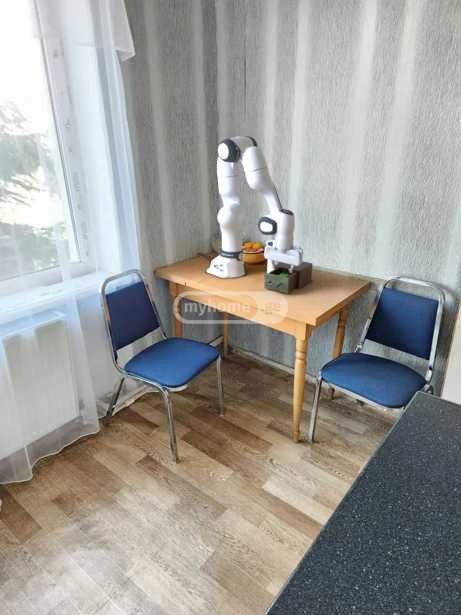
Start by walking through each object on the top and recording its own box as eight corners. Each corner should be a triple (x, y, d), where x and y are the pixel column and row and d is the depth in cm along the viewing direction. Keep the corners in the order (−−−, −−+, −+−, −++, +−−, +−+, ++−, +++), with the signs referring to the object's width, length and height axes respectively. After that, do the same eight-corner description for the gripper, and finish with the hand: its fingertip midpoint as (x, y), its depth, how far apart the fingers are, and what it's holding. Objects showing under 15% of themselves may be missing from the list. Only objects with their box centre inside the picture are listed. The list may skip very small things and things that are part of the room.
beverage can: (281, 278, 217) (282, 257, 212) (266, 277, 218) (267, 256, 213) (282, 273, 224) (283, 252, 219) (268, 272, 225) (268, 251, 220)
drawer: (282, 296, 191) (283, 281, 188) (259, 290, 198) (259, 276, 195) (300, 285, 204) (301, 270, 201) (277, 280, 212) (278, 266, 208)
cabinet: (298, 288, 202) (299, 270, 198) (273, 282, 210) (274, 265, 206) (311, 280, 213) (312, 263, 209) (287, 275, 221) (288, 258, 217)
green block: (283, 287, 199) (283, 278, 197) (275, 285, 201) (276, 276, 199) (289, 283, 203) (289, 274, 201) (281, 282, 206) (281, 273, 203)
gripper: (306, 246, 191) (303, 273, 196) (269, 238, 201) (268, 264, 207) (300, 249, 186) (297, 276, 192) (263, 241, 197) (261, 267, 203)
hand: (282, 270), depth 200 cm, fingers open, 8 cm apart
